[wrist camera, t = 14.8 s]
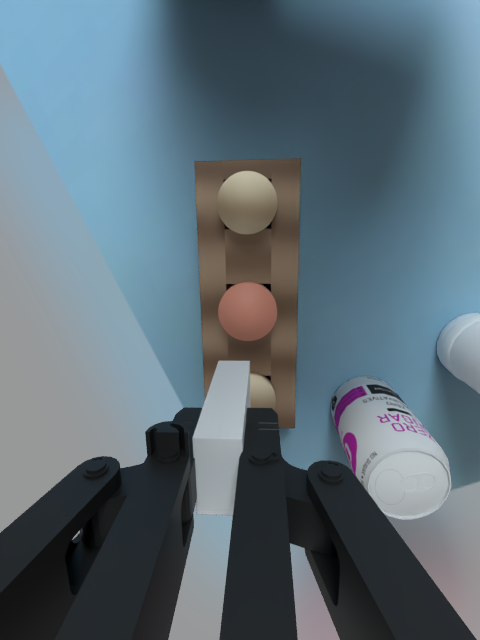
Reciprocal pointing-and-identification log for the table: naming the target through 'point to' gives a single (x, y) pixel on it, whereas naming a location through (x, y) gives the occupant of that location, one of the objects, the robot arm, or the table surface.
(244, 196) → the maple plug
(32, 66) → the table surface
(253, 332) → the brick-red plug
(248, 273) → the socket board
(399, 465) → the supplement can
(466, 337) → the bottle
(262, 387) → the maple plug
